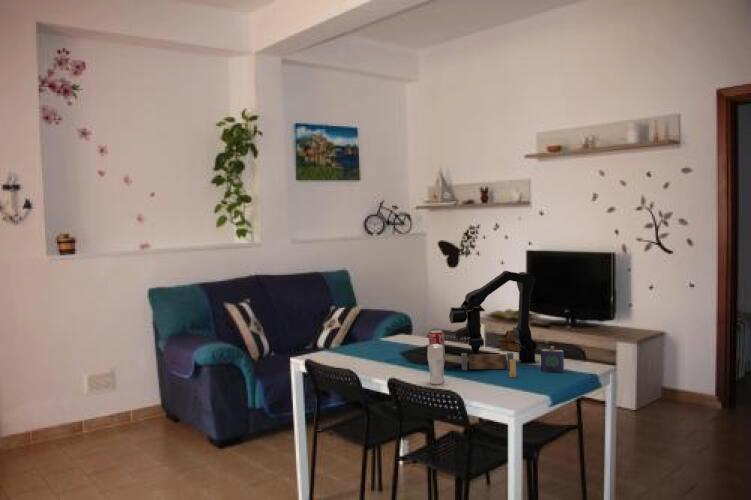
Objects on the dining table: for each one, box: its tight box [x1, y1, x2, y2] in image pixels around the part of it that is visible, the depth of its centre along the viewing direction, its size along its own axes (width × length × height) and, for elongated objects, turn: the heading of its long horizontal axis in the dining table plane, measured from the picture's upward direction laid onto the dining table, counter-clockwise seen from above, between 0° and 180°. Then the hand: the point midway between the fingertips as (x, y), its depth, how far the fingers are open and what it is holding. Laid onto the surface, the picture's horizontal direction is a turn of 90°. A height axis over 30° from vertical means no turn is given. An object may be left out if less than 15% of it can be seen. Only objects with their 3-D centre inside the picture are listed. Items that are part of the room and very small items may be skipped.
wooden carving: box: [497, 329, 521, 352], centre depth 296 cm, size 16×5×10 cm, turn 76°
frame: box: [460, 352, 517, 378], centre depth 262 cm, size 22×13×7 cm, turn 84°
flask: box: [540, 345, 565, 373], centre depth 261 cm, size 9×3×11 cm, turn 74°
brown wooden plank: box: [468, 353, 508, 370], centre depth 267 cm, size 16×2×6 cm, turn 84°
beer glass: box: [426, 344, 446, 386], centre depth 252 cm, size 7×7×15 cm
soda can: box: [428, 329, 446, 352], centre depth 292 cm, size 7×7×12 cm
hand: (474, 356), depth 274 cm, fingers closed
